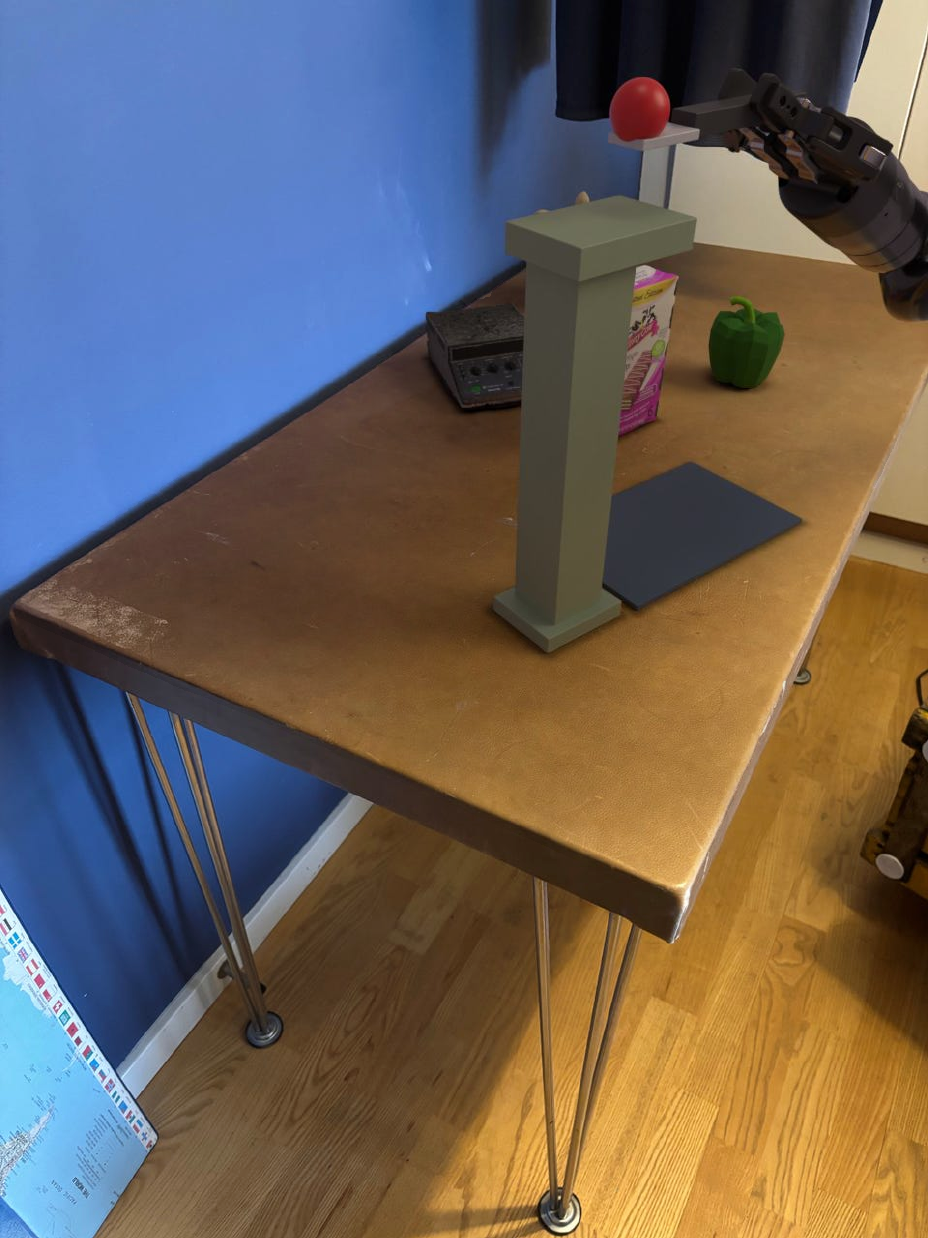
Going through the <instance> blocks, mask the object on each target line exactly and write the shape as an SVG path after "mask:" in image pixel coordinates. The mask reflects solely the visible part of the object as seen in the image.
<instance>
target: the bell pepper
mask: <svg viewBox="0 0 928 1238" xmlns="http://www.w3.org/2000/svg"><path fill="white" fill-rule="evenodd" d="M729 303H730V305H731V307H733V306H736V305H738V306H742V307H743V308H740V309H738V310H736V311H731V310H720V311H719V312H718V314H717V315H716V317H715V318H714V320H713V322H712V325H711V326H710V327H711V328H710V330H709V331H710V332H709V337H708V357H709V358H708V359H709V366H710V371H711V373H712V375H713V377H714V379H715V380H716V381H717V382H720V383H724V384H731V385H733V386H735V387H738V388H740V389H748V388H752V389H753V388H755V387H759V386H761V384H762V383H763V382H764V381H765V380H766V379H767V377H769V375H770V374H771V371H772V369H773V368H774V366H775V363H776V361H777V359H778V357H779V356H780V353H781V352H782V351H781V350H782V348H783V343H784V339H785V335H786V333H785V329H784V325H783V324H781V320H780V317H779V315H778V313H777V311H770V312H769V311H768V312H762V311H761V310H758V309H756V308H754V305H753V302H752V301H751V300H749V299H748V298H747V297H743V296H738V295H735V296H730V297H729Z"/></svg>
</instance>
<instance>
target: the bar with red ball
mask: <svg viewBox="0 0 928 1238" xmlns="http://www.w3.org/2000/svg"><path fill="white" fill-rule="evenodd" d="M789 90H790V91H791V92H792V93H793V94H794V95H795V96H796V97H797V98H798V97H799V98H806V99H807V92H805V91H800V90H794V89H789ZM751 96H752V94H751V95H745V96H740V97H734V98H729V99H723V100H718V99H717V100H713V101H708V102H702V103H695V104H691V105H686V106H680V107H674V108H672V111H671V102H670V98H669V95H668V93H667V90H666V88H664V86H663V85H662V84H661V83H660V82H659V81H657V80H656V79H655V78H651V77H647V76H639V77H638V76H637V77H635V78H631V79H629V80H627V81H626V82H624V83H623V84H621V86H620V87H619V88H618V89H617V90H616V92H615V93H614V95H613V97H612V99H611V101H610V106H609V113H608V114H609V115H608V117H609V124H610V126H611V129H612V131H609V132H608V137H607V143H609V144H612V145H616V146H620V147H624V148H627V149H632V150H636V151H640V152H646V151H650V150H656V149H660V148H665V147H669V146H674V145H679V144H684V143H689V142H694V141H698V140H699V138H701V137H705V136H709V135H710V136H711V135H714V134H720V133H722V132H725V131H730V130H735V129H740V128H745V127H749V126H754V125H757V126H759V125H760V124H764V122H763V121H762V120H761V119H760V118H759V117H758V116H757V115H756V114H755V113H754V112H753V111H752V110H751V109H750V104H749V100H750V98H751ZM670 114H671V120H670V122H669V118H670Z"/></svg>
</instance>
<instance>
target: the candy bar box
mask: <svg viewBox="0 0 928 1238" xmlns="http://www.w3.org/2000/svg"><path fill="white" fill-rule="evenodd" d="M678 282H679V276H678V275H676V274H674V273H671V272H668V271H665V270H663V269H659V268H655V267H652V266H649V265H647V264H642V265H639V266H637V267H636V276H635V286H634V295H633V304H632V313H631V322H630V332H629V341H628V350H627V359H626V368H625V378H624V387H623V396H622V405H621V414H620V424H619V433H618V437H620V436H622V435H624V434H626V433H629V432H631V431H633V430H635V429H637V428H640V427H642V426H645V425H647V424H649V423H651V422H654V421H656V420H657V419H658V418H657V417H658V410H659V406H660V405H659V404H660V399H661V398H660V397H661V392H662V385H663V378H664V372H665V366H666V359H667V352H668V347H669V346H668V345H669V340H670V334H671V327H672V322H673V321H672V320H673V314H674V307H675V301H676V295H677V290H678Z"/></svg>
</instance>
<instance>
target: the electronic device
mask: <svg viewBox="0 0 928 1238" xmlns="http://www.w3.org/2000/svg"><path fill="white" fill-rule="evenodd" d="M524 316H525V315H524V314H522V313H521V311H520V310H519V309H518V308H517V307H516V306H515V304H514V303H513V302H512V301H508V302H507V303H501V304H494V305H484V306H482V305H481V306H476V307H469V308H465V309H464V308H463V309H456V310H455V309H453V310H452V309H451V310H445V311H426V312H425V321H426V324H425V329H426V336H427V337H426V338H427V341H426V346H427V354H428V355H429V357H430V360H431V362H432V364H433V368H434V370H435V372H436V374H437V375H438V377H439V379H440V381H441V384H442V385H444V388H445V390H446V392H447V394H448V395H449V396H450V397H451V398H452V401H453V402H454V403H457V405H458V406H459V407H460V408H461V409H462V410H465V411H474V410H479V409H481V410H487V409H500V408H501V409H503V408H509V407H513V406H514V407H515V406H519V405H521V403H522V374H523V345H524Z"/></svg>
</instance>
